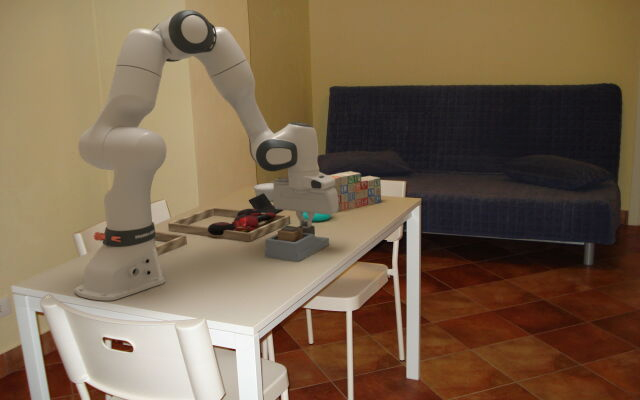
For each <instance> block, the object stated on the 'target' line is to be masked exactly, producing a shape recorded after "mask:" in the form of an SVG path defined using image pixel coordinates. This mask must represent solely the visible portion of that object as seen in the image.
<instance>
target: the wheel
mask: <svg viewBox="0 0 640 400" xmlns="http://www.w3.org/2000/svg"><path fill="white" fill-rule="evenodd" d="M297 227H299V228H303V233H310V234H315V235H316V230H315V228H316V227H315V226H314V225H313V224H312V226H311V227H303V226H300V225H299V226H297Z"/></svg>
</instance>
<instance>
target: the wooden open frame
mask: <svg viewBox="0 0 640 400" xmlns="http://www.w3.org/2000/svg"><path fill="white" fill-rule="evenodd" d="M240 211H241V210H240V209H230V208H224V207H223V208H221V207H215V206H213V207H210V208H207V209H205V210H201V211H199V212H196V213H193V214H191V215H188V216H185V217H181V218H179V219H176V220H173V221H171V222H168V223H167V227H168V232H175V233H182V234H183V233H184V234H190V235H197V236H198V235H199V236H202V237H203V236H204V237H205V236H206V237H211V238H219V239H225V240H226V239H227V240H232V241H233V240H234V241H239V242H240V241H241V242H247V243H249V242H250V243H251V242H252V241H254V240H257V239H259V238H261V237H263V236H265V235H268V234H270V233H272V232H274V231H276V230H278V229H279V230H280V229H281V228H283V227H285V226H288V225H289V224H291V215H285V214H279V213H277V214H276V215H275V217H274V218H273V219H270V220H265V221H264V222H270V223H266V224H265V225H263V226H260V227H257V228H258V229H255V230H250V231H249V232H248V231H244V232H239V231H234V230H233V231H231V230H225V231H224V233H223V234H222V235H212V234H210V233H209V232H208V227H209V226H208V227H207V226H198V225H192V224H194V223H196V222H200V221H202V220H206V219H208V218H210V217H213V216H218V217H219V216H220V217H226V218H234V219H235V218H236V217H237V214H238V212H240ZM264 214H266V213H261V216H262V215H264ZM191 223H192V224H191Z"/></svg>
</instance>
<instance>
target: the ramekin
mask: <svg viewBox="0 0 640 400" xmlns="http://www.w3.org/2000/svg"><path fill="white" fill-rule="evenodd" d="M273 183H274V182H269V183H268V182H266V183H260V184H256V185H254V186H253V191H254V194H255V197H256V196H258V195H261V194H263V193H264V194H265V195H266V197H267V198H268V200H269V201H270V202H273V193H274V185H273Z"/></svg>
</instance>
